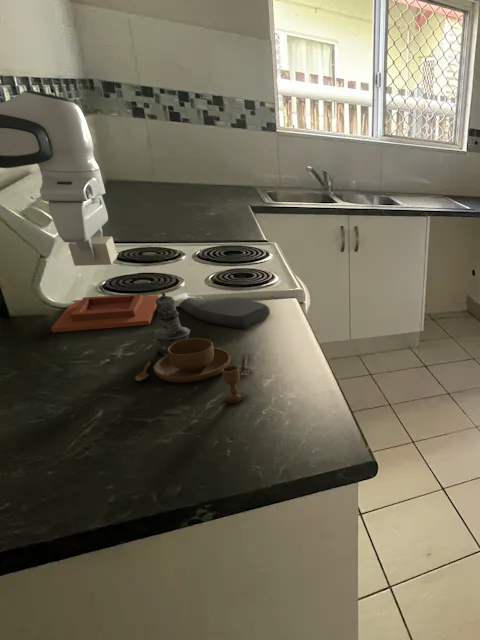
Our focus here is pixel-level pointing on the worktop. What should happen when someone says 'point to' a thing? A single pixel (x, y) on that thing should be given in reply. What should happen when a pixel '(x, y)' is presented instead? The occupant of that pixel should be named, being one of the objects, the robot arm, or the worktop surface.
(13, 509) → the worktop surface
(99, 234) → the robot arm
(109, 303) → the base pad
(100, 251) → the beige block
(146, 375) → the place setting
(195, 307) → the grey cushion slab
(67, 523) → the worktop surface
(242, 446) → the worktop surface
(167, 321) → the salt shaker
